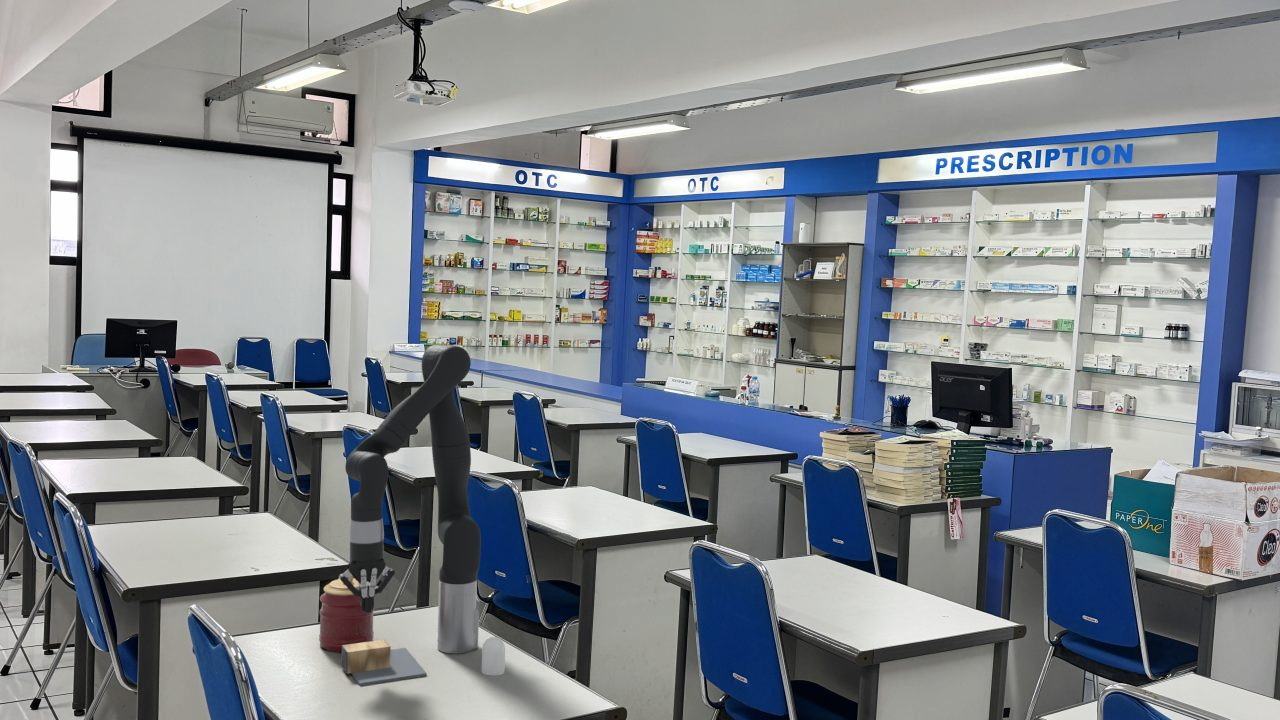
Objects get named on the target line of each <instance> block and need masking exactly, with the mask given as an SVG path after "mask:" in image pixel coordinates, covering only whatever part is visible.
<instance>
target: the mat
mask: <svg viewBox="0 0 1280 720" xmlns="http://www.w3.org/2000/svg"><path fill="white" fill-rule="evenodd" d="M351 675H352V677H353V678H354V680H355V681H356V683H357V684H358V686H359V687H361V686H367V685H373V684H381V683H387V682H392V681H393V682H394V681H401V680H407V679H413V678H420V677H427V671H426V670H425V669H424V668H423V667H422V666H421V664H420V663H419V662H418V661H417V660H416V659H415V658H414V656H413V655H412V654H411V653H410V651H409V650H408V649H407V648H406V647H400V648H394V649H390V668H383V669H377V670H370V671H363V672H356V673H351Z"/></svg>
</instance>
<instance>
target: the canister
mask: <svg viewBox="0 0 1280 720" xmlns="http://www.w3.org/2000/svg"><path fill="white" fill-rule="evenodd" d="M350 577H351V580H350V582H351V584H352V585H353V586H354V587H355V588H356V589H359V585H358V581H357V580H356V579H355V578H354V577H353V576H352V574H350ZM323 591H324V593H323V594H321V595H320V597H319V600H320V602H321V608H320V609H319V616H320V617H319V620H320V621H319V623H320V624H319V635H318V637H319V639H318V641H319V646H320V647H321V648H322V649H324V650H327V651H331V652H338V653H339V652H341V653H342V645H348V644H355V643H363V642H371V641H374V612H375V607H374V608H373V610H371V612H370V613H364V612H363V611H362V610H361V608H360V596H355V595H354V594H353V593H352V592H351V591H350V590H349V589H348V588H347V587H346V585H345V584H344V583H343V582H342V581H341V580H340V579H339V578H338V579H334V580H332V581H331V582H329V583H328V584H326V585H325V586H324V587H323Z"/></svg>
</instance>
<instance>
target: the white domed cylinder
mask: <svg viewBox="0 0 1280 720" xmlns="http://www.w3.org/2000/svg"><path fill="white" fill-rule="evenodd" d="M505 663H506V646H505V643H504V641H503V640H502V639H501V638H499V637H497V636H492V637H489V638H487V639H486V640H485V641H484V643H483V645H482V648H481V673H482V674H483V675H487V676H499V675H502V674H504V673H505V669H506V668H505V667H506V666H505V665H506V664H505Z"/></svg>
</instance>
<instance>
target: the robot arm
mask: <svg viewBox="0 0 1280 720" xmlns="http://www.w3.org/2000/svg"><path fill="white" fill-rule="evenodd" d="M421 358H422V359H421V373H422V377H423V379H422V380H423V383H422V384H421V386H419V387H418V388H417V389H416V390H415V391H413V393H411V394H410V395H409V396H407V397H406V398H405V399H403V400H402V401H401V402H400V403H398V404H397V405H396V406H395V407H394V408H393V409H392V410H390V412H389V413H388V414H387V415H386V417H385V418H384V420H383V421H382V422H381V423H380V424H379V426H378V427H377V428H376V430H375V431H374V432H373V433H372V434H371V435H369V436H368V437H367V438H366V439H364V440H362V442H360V443H359V445H357V446H356V447H355V448H354V449H353V450H352V451H351V452H350V454H349V455H348V457H347V458H346V461H345V472H346V474H347V476H348V477H349V478H350V479H352V480H354V481H357V482H359V491H358V492H356V493H354V494H353V495H352V496H351V499H350V525H349V563H348V565H347V569H346V571H344V572H343V573H340V574H338V579H340V580H341V581H342V582H343V583H344V584H345V585H346V587H347V588H348V589H349V590H350V591H351V592H352V593H353V594H354V595H355V596H360V608H361V610H362V611H363V612H364V613H370V612H371V610H373V608H374V609H375V595H377V594H381V593H382V592H383V591H384V589H385V588H386V586H387V585H388V584H389V583H390V581H391V580H392V578H393V577H394V576H395V570H394V569H393V568H391V567H388V566H387V563H386V561H385V560H384V557H385V553H384V551H385V548H384V547H385V546H384V545H385V544H384V540H385V539H384V538H385V531H384V522H383V521H384V519H383V499H384V496H385V492H386V488H387V484H388V478H389V466H388V463H387V462H388V461H387V460H386V459H385V457H386V456H387V455H389V454H394V453H397V452H398V451H399V450H400V449H401V448H402V447H403V446H404V445H405V443H407V441H408V439H409V438H410V437H411V436H412V434H413V432H414V431H415V430H416V429H417V428H418V426H419V425H420V424H421V423H422V422H423V420H424V419H425V418H426V417H427V416H428V415H429V416H428V417H429V426H430V436H431V437H430V438H431V454H432V463H433V470H434V476H435V477H434V478H435V483H436V489H437V491H436V492H437V504H438V505H437V506H438V507H437V509H438V510H437V511H438V513H437V535H438V538H439V541H440V543H441V544H442V546H443V548H442V549H443V550H442V565H441V567H440V568H439V571H438V574H439V575H438V576H439V577H438V578H439V580H438V608H437V609H438V612H437V613H438V615H437V617H438V618H437V640H436V641H437V649H438V650H439V651H440V652H443V653H447V654H464V653H468V652H471V651H473V650H477V649H478V648H479V625H480V622H479V620H480V612H479V611H480V610H478V609H477V599H478V597H477V595H478V593H477V592H478V589H477V588H478V572H479V570H480V564H481V547H482V546H481V545H482V534H481V529H480V527H479V525H478V524H477V522H476V521H474V519H473V518H472V516H471V511H470V505H469V496H468V484H469V478H470V472H471V466H472V465H471V464H472V457H471V456H472V454H471V453H472V452H471V442H470V441H471V440H470V434H469V430H468V428H467V425H466V423H465V421H464V419H463V417H462V414H461V412H460V410H459V408H458V405H457V402H456V399H455V392H454V391H455V390H454V389H455V388H456V387H457V386H459V384H460V383H461V382H462V381H463V380H464V379H465V378H466V377H467V376H468V373H469V371H470V370H471V365H472V364H471V363H472V362H471V361H472V360H471V357H470V355H469V353H468V351H467V350H466V349H465V348H463V347H461V346H458V345H452V344H434V345H431V346H429V347H427V349H426V350H425V351H424V353H423V355H422V357H421ZM350 574H351V575H352V576H353V578H355V579H356V580H357V581H358V585H359V589H356V588H355V587H354V586H353V585H352V584H351V582H350V580H351V577H350ZM380 576H381V577H380ZM379 578H380V579H379ZM378 579H379V580H378ZM377 580H378V581H377Z"/></svg>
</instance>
